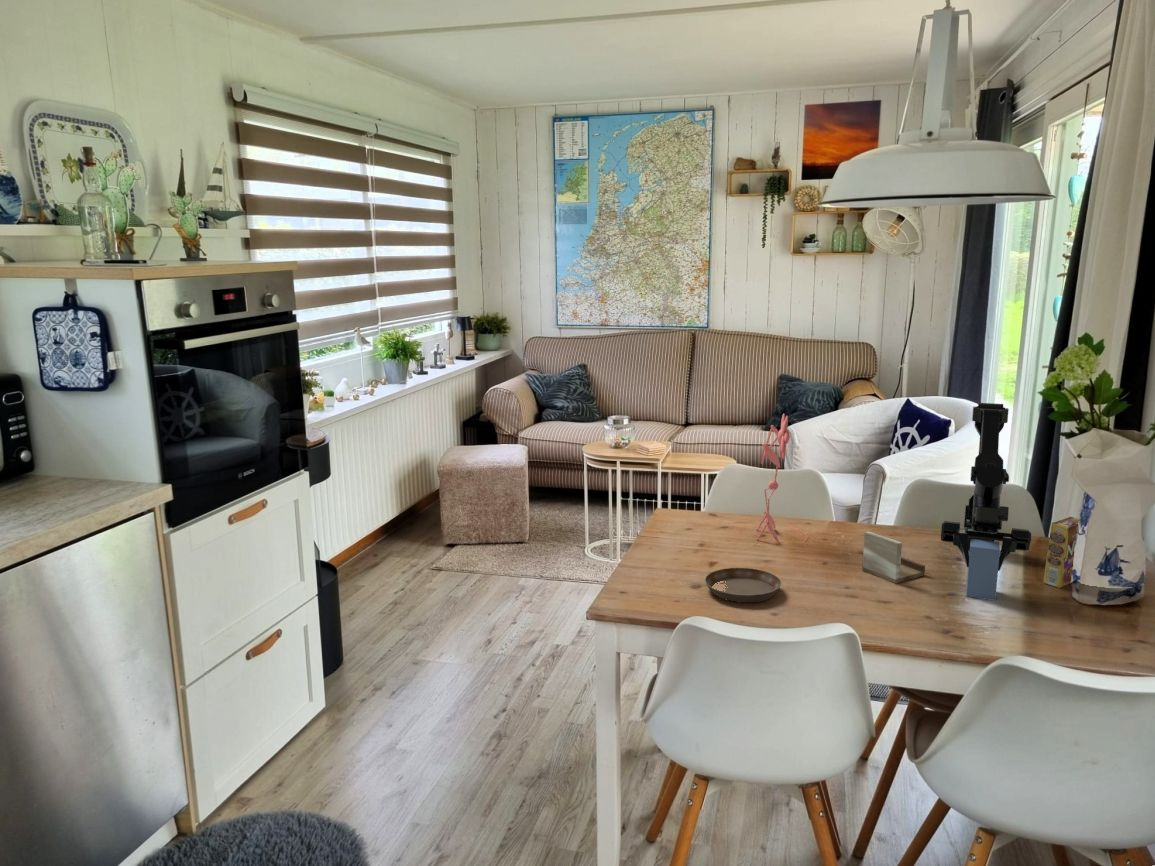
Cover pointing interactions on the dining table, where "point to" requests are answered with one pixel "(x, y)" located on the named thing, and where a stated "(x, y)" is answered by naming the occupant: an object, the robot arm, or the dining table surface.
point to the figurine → (773, 485)
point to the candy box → (1061, 552)
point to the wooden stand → (888, 559)
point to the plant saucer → (744, 584)
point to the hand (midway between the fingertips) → (983, 568)
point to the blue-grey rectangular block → (983, 569)
